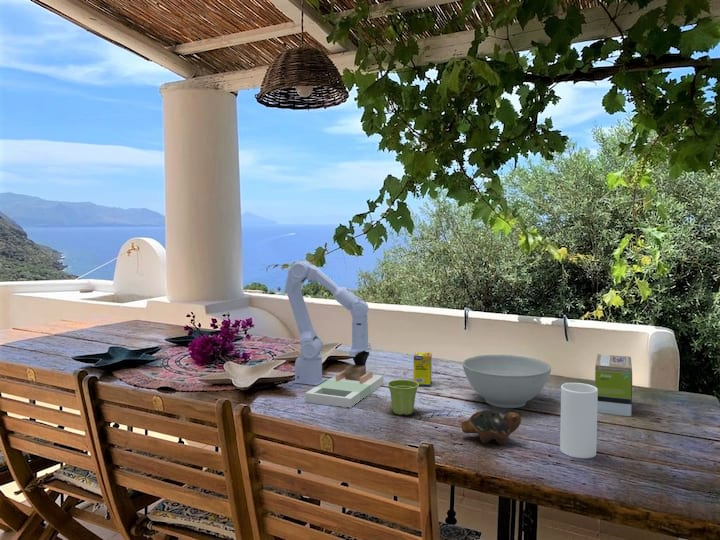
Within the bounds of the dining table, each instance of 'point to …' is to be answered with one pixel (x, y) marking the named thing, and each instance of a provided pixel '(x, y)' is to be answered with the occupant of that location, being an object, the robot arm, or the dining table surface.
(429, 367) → the supplement box
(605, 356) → the tea box
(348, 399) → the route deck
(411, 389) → the plant pot
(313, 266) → the robot arm
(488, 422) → the decorative turtle
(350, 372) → the walnut block
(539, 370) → the decorative bowl
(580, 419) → the cup
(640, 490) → the dining table surface
